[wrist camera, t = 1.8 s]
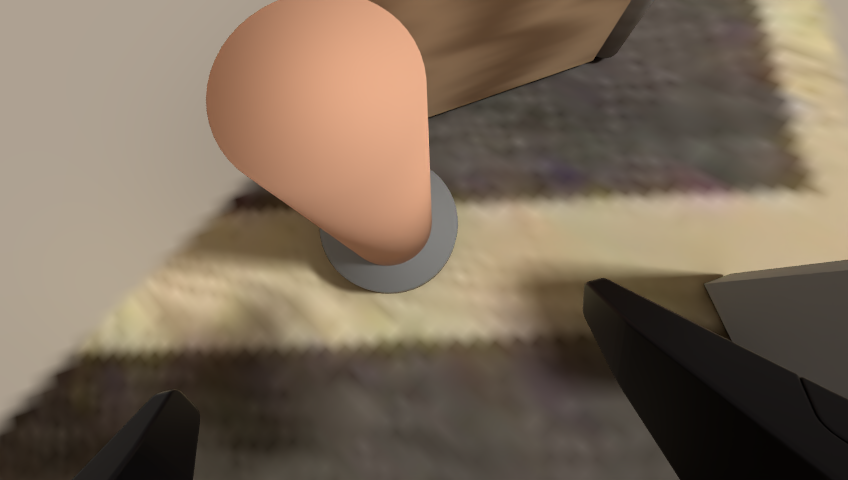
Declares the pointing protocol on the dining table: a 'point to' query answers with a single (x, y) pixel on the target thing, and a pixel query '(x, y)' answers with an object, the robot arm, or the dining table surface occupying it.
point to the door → (508, 41)
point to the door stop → (338, 134)
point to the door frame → (791, 318)
